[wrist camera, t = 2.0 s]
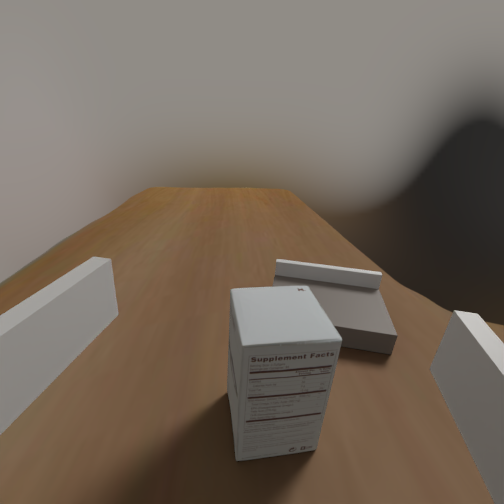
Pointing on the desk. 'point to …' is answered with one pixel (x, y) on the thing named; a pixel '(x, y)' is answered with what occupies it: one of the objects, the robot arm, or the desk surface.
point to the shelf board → (345, 302)
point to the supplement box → (278, 370)
